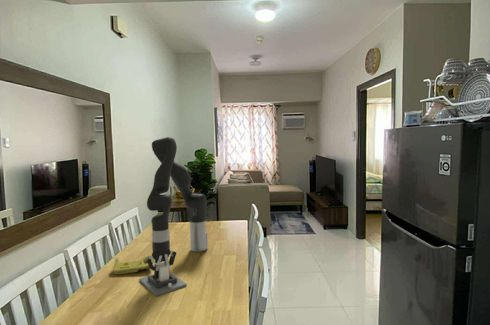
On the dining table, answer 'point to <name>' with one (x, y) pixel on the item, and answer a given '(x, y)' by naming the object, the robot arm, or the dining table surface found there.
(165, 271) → the block
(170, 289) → the housing plate
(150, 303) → the dining table surface
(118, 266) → the plastic component
